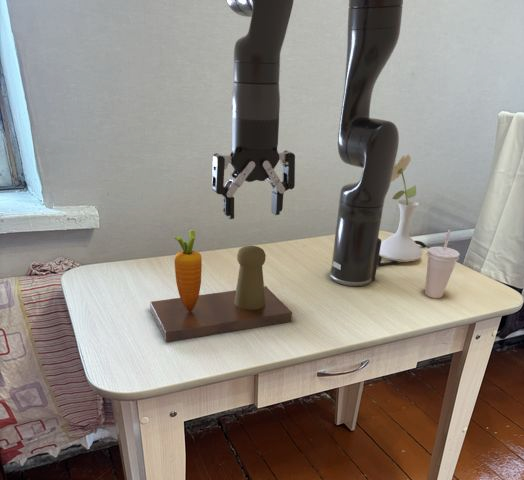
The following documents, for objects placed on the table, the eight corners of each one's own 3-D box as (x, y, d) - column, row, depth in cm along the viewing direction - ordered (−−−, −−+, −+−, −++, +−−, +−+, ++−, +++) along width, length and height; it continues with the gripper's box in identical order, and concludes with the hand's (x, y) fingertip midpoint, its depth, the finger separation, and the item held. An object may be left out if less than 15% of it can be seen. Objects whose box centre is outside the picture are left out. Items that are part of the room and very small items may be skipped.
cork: (262, 311, 94) (264, 255, 88) (230, 307, 95) (231, 251, 89) (268, 298, 99) (271, 244, 93) (238, 294, 100) (239, 240, 94)
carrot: (181, 319, 90) (178, 238, 82) (172, 308, 94) (168, 228, 86) (207, 314, 92) (206, 234, 84) (197, 303, 96) (195, 226, 88)
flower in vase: (399, 247, 134) (418, 147, 121) (430, 262, 126) (454, 156, 113) (360, 253, 129) (376, 150, 116) (389, 269, 120) (410, 159, 107)
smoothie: (450, 292, 110) (467, 229, 103) (446, 303, 105) (463, 238, 98) (421, 285, 113) (435, 224, 105) (415, 296, 108) (430, 232, 100)
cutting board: (265, 294, 105) (266, 286, 104) (291, 321, 95) (292, 312, 94) (150, 311, 97) (149, 301, 95) (166, 342, 87) (165, 332, 86)
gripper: (220, 118, 74) (221, 226, 83) (306, 117, 79) (299, 218, 88) (205, 112, 80) (207, 213, 89) (286, 111, 85) (281, 206, 94)
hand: (253, 215), depth 88 cm, fingers open, 8 cm apart
